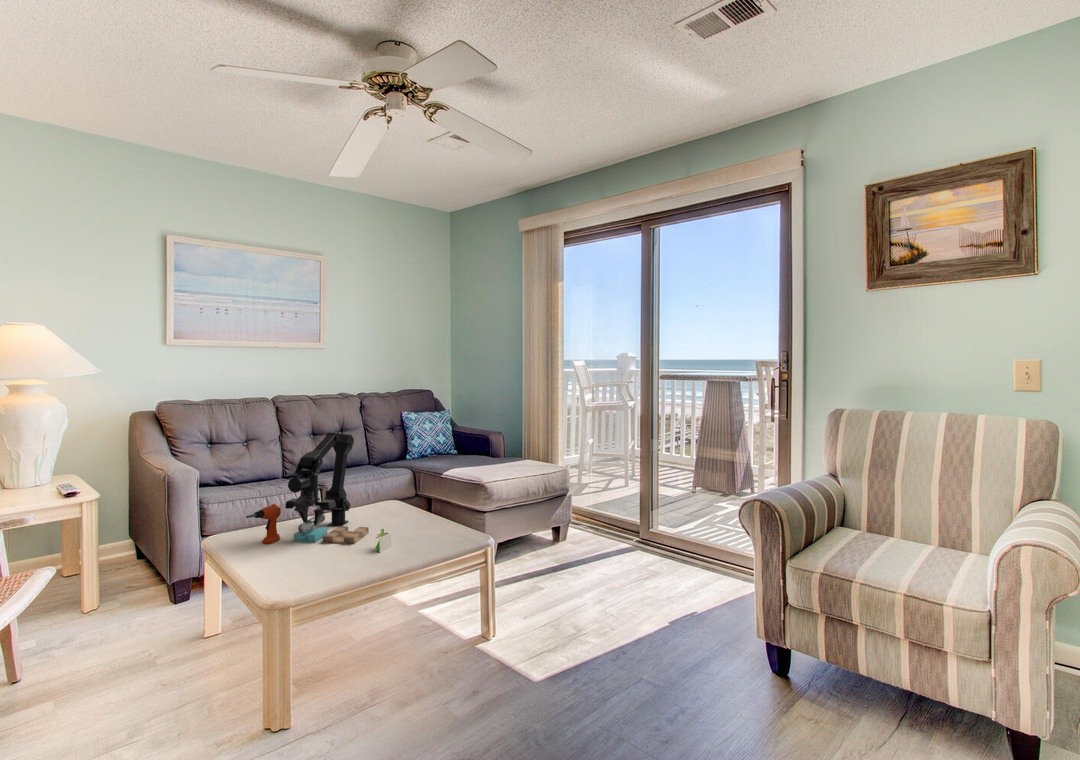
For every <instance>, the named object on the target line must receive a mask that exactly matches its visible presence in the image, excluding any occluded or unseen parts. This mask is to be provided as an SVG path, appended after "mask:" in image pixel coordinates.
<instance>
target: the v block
mask: <svg viewBox="0 0 1080 760" xmlns="http://www.w3.org/2000/svg"><path fill="white" fill-rule="evenodd" d="M314 528H315V527H314ZM314 528H313V529H311V530H310V531H308V532H307V533H305V534H301V533H300V532H299V531H297V532H295V533H293V542H295V543H313V544H314V543H317V542H318V541H320V540H323V536H324V535H326V534H328V527H327V526H326V527H323V526H320V527H318V528H317V529H315V530H314Z"/></svg>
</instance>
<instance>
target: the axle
mask: <svg viewBox="0 0 1080 760" xmlns="http://www.w3.org/2000/svg"><path fill="white" fill-rule="evenodd" d="M325 520H326V516H325V514H324V513H322V515H321V517H320V519H319V522H318V524H317V525H316V526H315V515H314V516H311V517H310V518H309V519H307V521H305V522H304V523H301V524H299V525H298V527H297V530H298V531H299V532H300V533H301V534H305V533H307V532H308V531H310V530H311V529H313V528H316V527H318V526H319V525H320V524H322V523H323V522H325ZM298 531H297V532H298Z"/></svg>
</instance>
